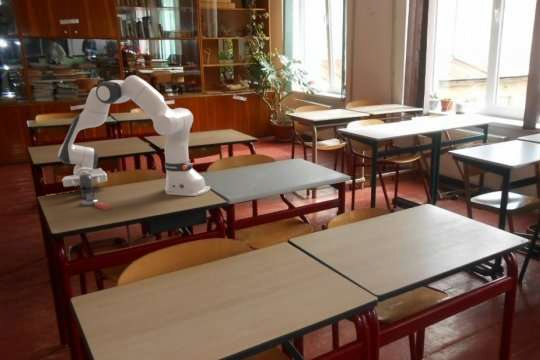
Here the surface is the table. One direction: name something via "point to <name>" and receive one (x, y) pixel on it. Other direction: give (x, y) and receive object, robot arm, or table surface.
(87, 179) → the socket
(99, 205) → the ratchet
